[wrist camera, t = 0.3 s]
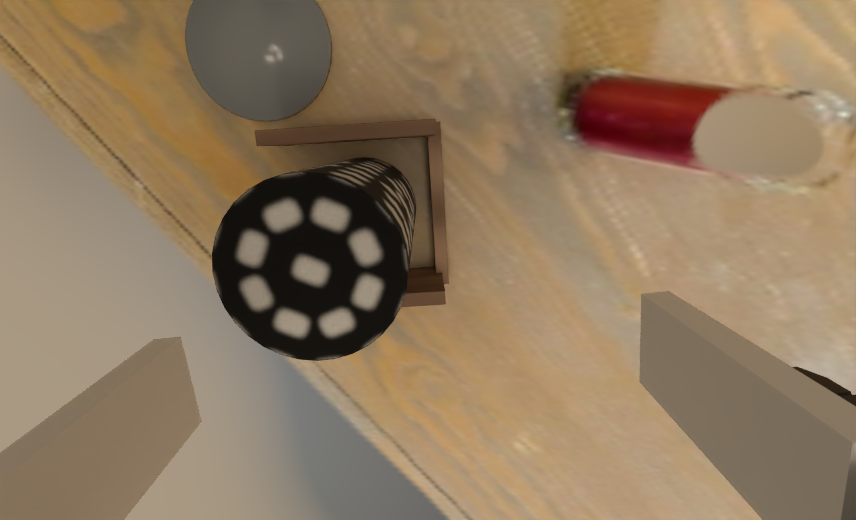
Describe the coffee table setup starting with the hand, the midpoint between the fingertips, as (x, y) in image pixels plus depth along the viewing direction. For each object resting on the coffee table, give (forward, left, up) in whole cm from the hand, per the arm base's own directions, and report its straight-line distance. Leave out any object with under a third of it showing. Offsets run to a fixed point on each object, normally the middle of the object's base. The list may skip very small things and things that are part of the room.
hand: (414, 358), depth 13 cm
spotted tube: (-1, -5, -27) cm, 27 cm away
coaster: (-14, -12, -27) cm, 32 cm away
